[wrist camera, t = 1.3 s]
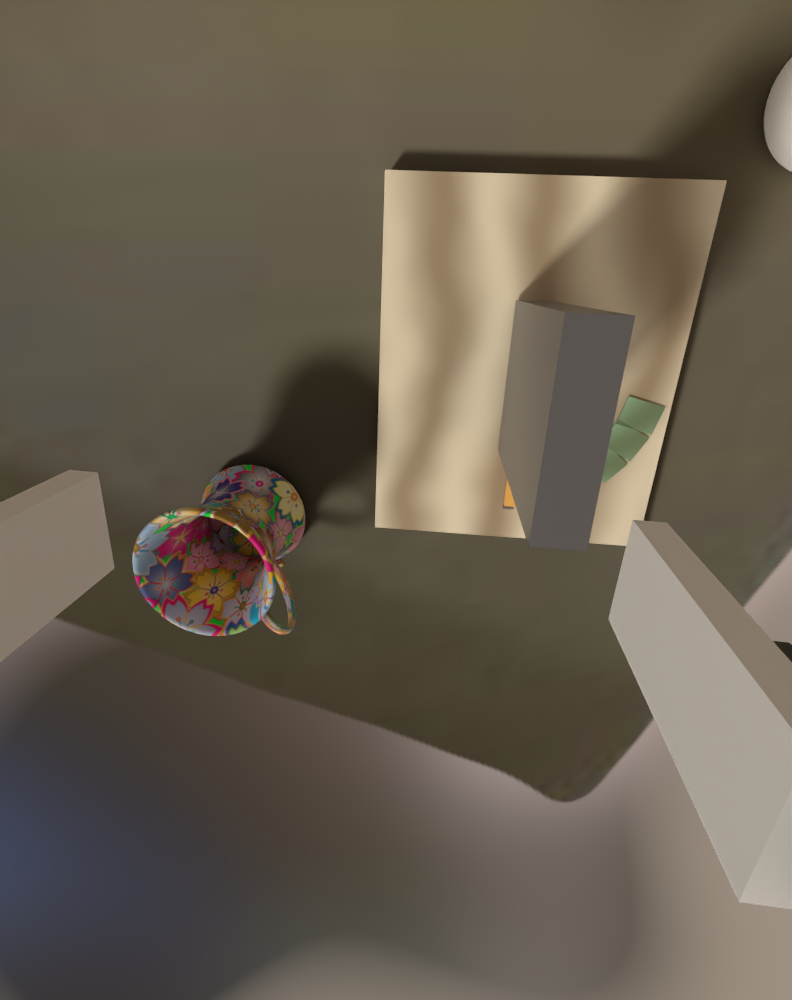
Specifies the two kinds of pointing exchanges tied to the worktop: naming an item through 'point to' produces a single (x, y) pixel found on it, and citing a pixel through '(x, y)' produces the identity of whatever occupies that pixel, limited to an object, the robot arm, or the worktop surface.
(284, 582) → the mug
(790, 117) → the water bottle
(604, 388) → the gray square slab
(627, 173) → the worktop surface
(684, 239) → the beige flat board
